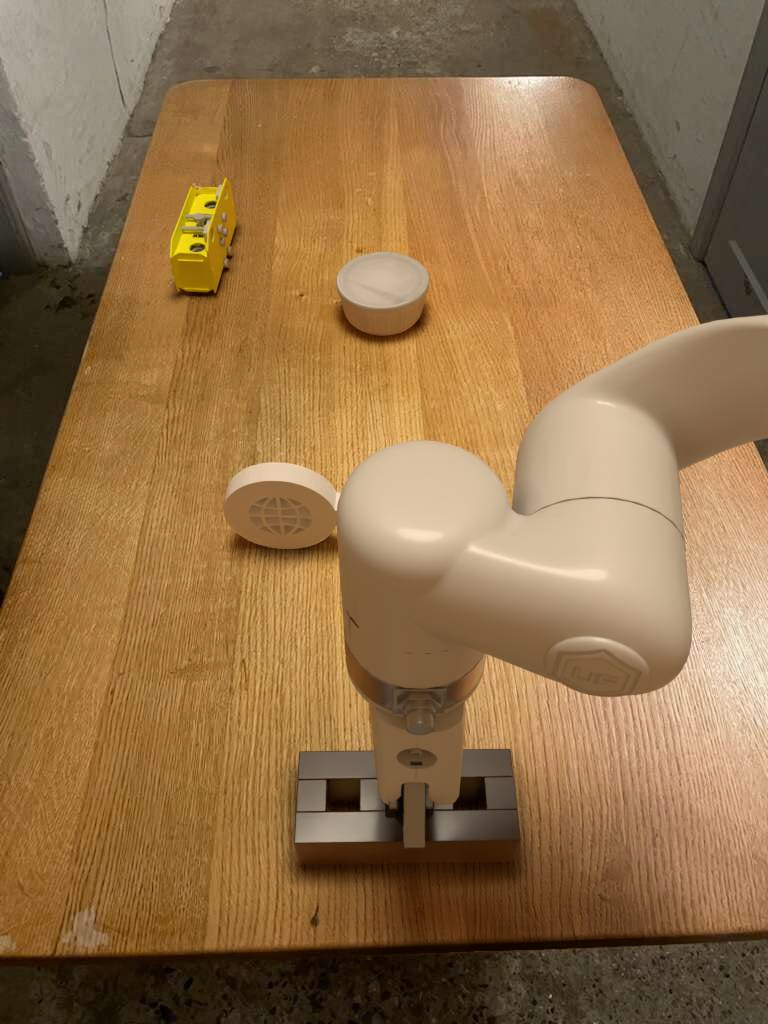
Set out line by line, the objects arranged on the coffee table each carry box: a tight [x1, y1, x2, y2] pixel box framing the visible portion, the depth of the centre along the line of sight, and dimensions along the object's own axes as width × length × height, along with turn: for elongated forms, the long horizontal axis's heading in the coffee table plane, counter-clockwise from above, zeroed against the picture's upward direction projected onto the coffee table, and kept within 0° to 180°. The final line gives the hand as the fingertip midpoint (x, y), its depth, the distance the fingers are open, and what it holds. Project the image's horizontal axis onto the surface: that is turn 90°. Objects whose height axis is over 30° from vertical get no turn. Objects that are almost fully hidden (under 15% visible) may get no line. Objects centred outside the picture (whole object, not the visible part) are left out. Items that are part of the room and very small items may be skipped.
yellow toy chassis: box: [169, 177, 237, 294], centre depth 108 cm, size 16×6×8 cm, turn 177°
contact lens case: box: [223, 461, 341, 550], centre depth 78 cm, size 22×2×10 cm, turn 88°
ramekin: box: [335, 251, 430, 337], centre depth 102 cm, size 11×11×5 cm
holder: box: [293, 748, 522, 866], centre depth 63 cm, size 7×16×5 cm, turn 91°
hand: (407, 774), depth 58 cm, fingers open, 4 cm apart
